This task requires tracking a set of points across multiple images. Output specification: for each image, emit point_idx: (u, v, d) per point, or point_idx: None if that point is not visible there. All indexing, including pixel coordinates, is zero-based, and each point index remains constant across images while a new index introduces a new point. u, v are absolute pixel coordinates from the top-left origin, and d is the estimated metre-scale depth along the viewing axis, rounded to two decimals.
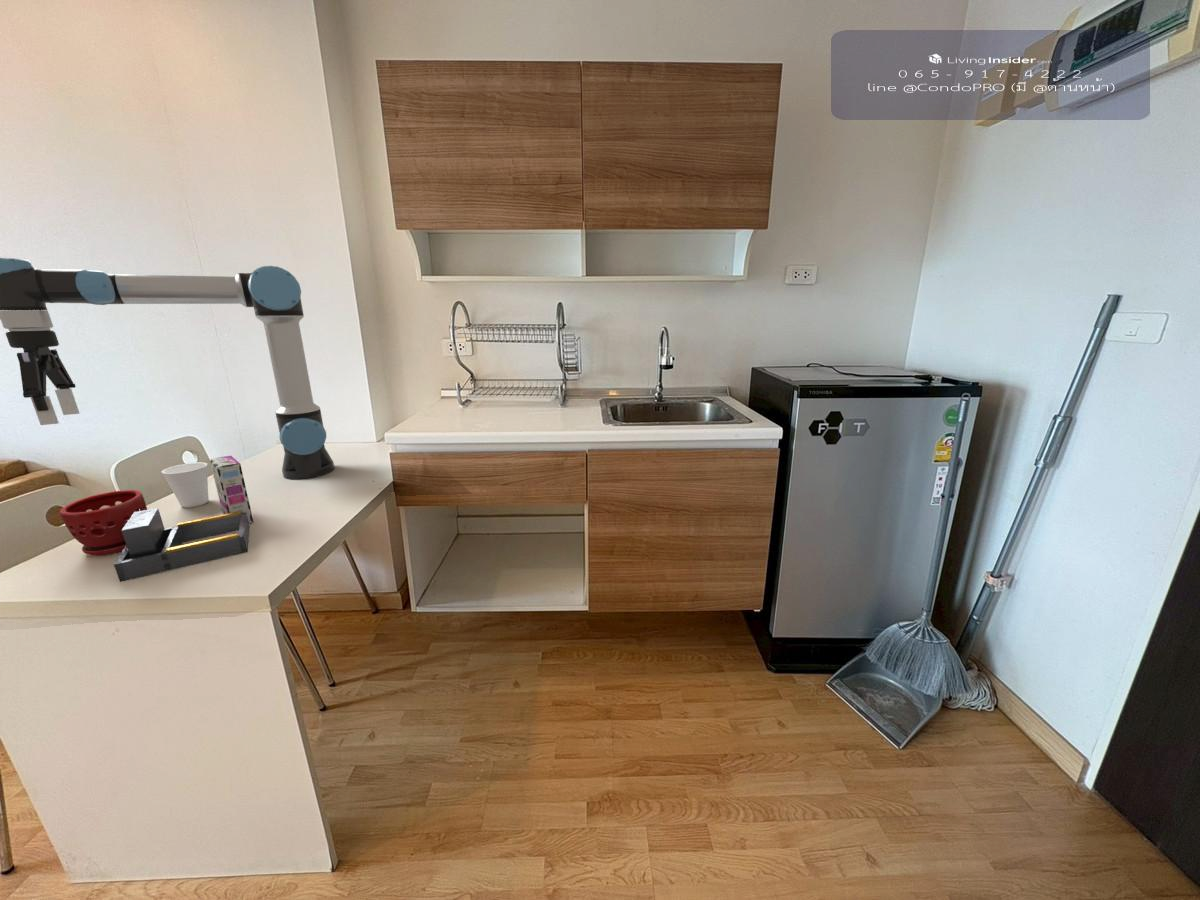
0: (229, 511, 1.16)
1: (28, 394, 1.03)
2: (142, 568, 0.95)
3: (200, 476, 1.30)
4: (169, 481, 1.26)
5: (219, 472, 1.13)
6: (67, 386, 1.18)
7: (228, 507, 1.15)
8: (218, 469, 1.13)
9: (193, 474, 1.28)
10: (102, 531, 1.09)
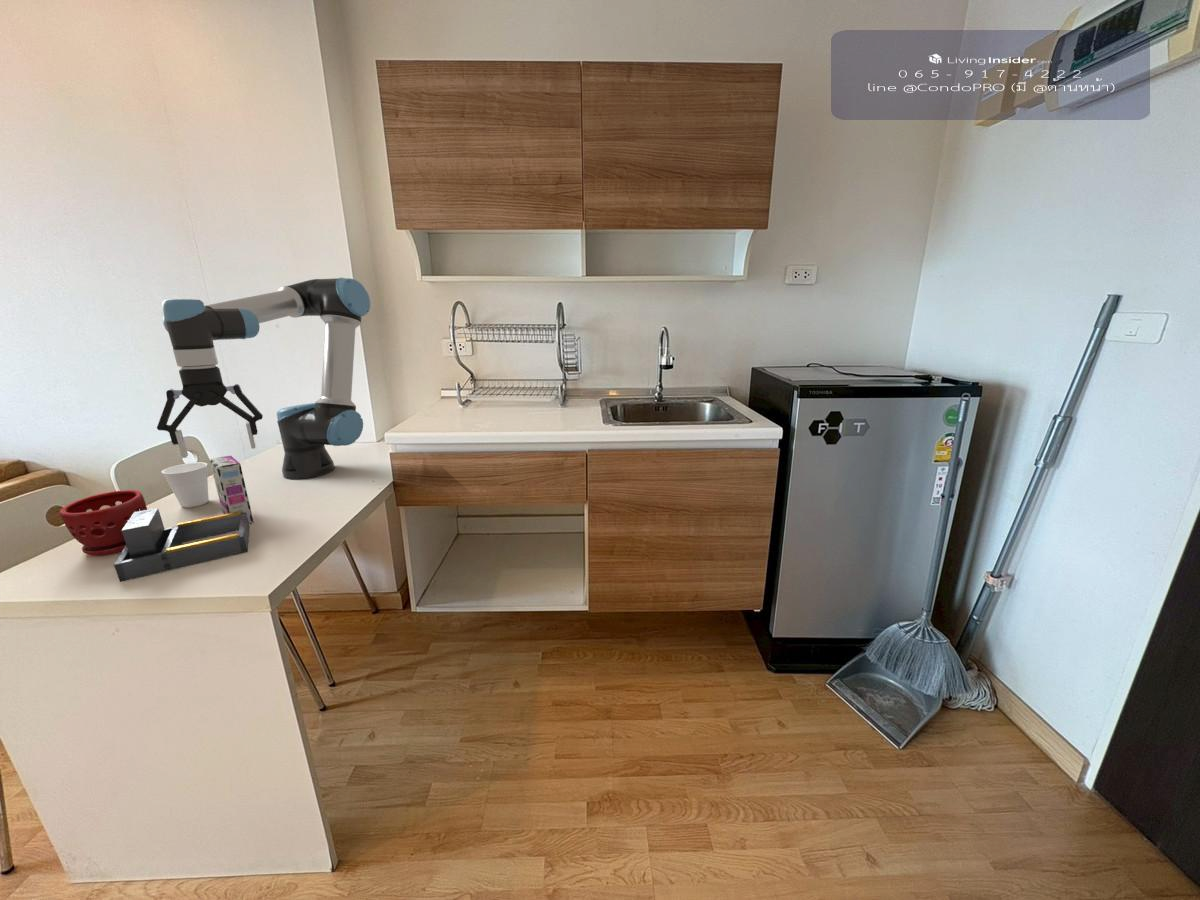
0: (229, 511, 1.16)
1: None
2: (142, 568, 0.95)
3: (200, 476, 1.30)
4: (169, 481, 1.26)
5: (219, 472, 1.13)
6: None
7: (228, 507, 1.15)
8: (218, 469, 1.13)
9: (193, 474, 1.28)
10: (102, 531, 1.09)
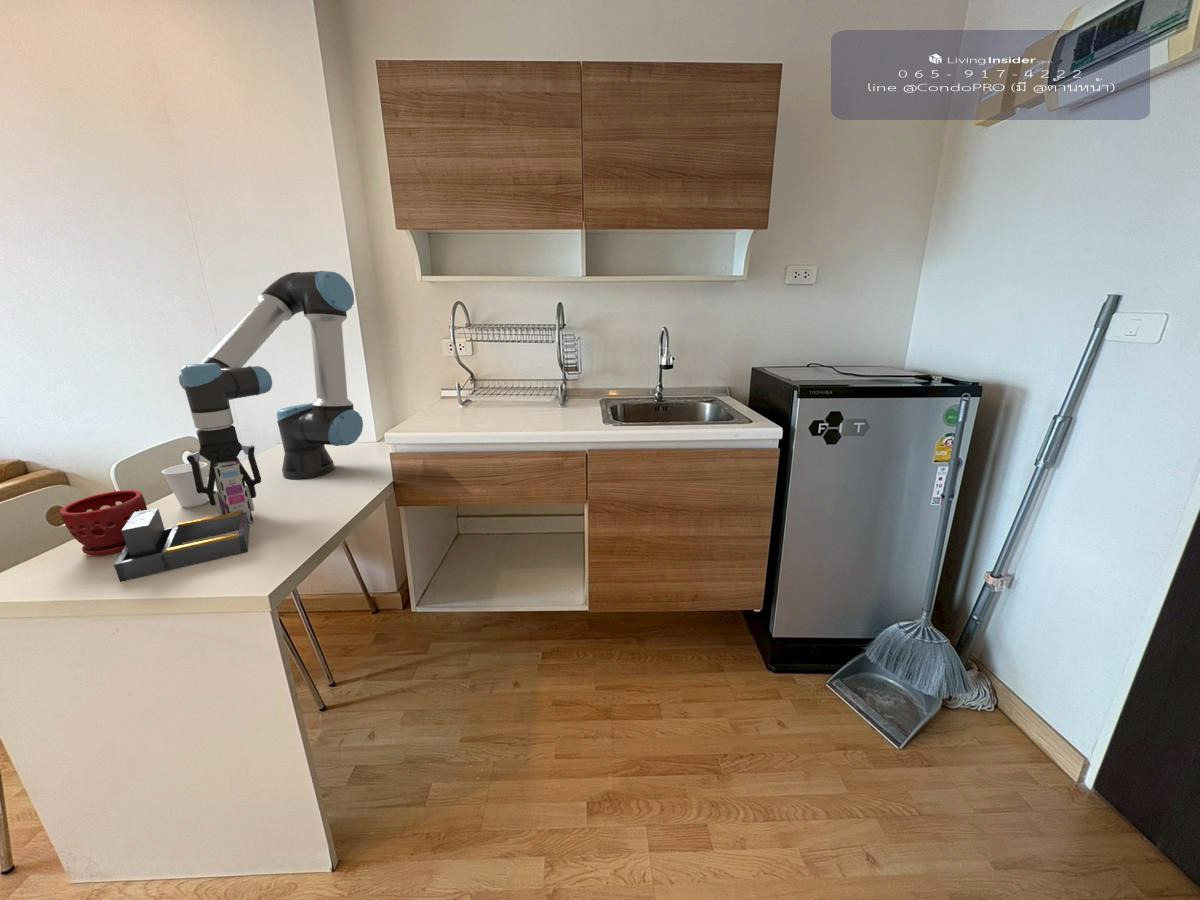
0: (229, 511, 1.16)
1: None
2: (142, 568, 0.95)
3: None
4: (169, 481, 1.26)
5: (219, 472, 1.13)
6: None
7: (228, 507, 1.15)
8: (218, 469, 1.13)
9: None
10: (102, 531, 1.09)
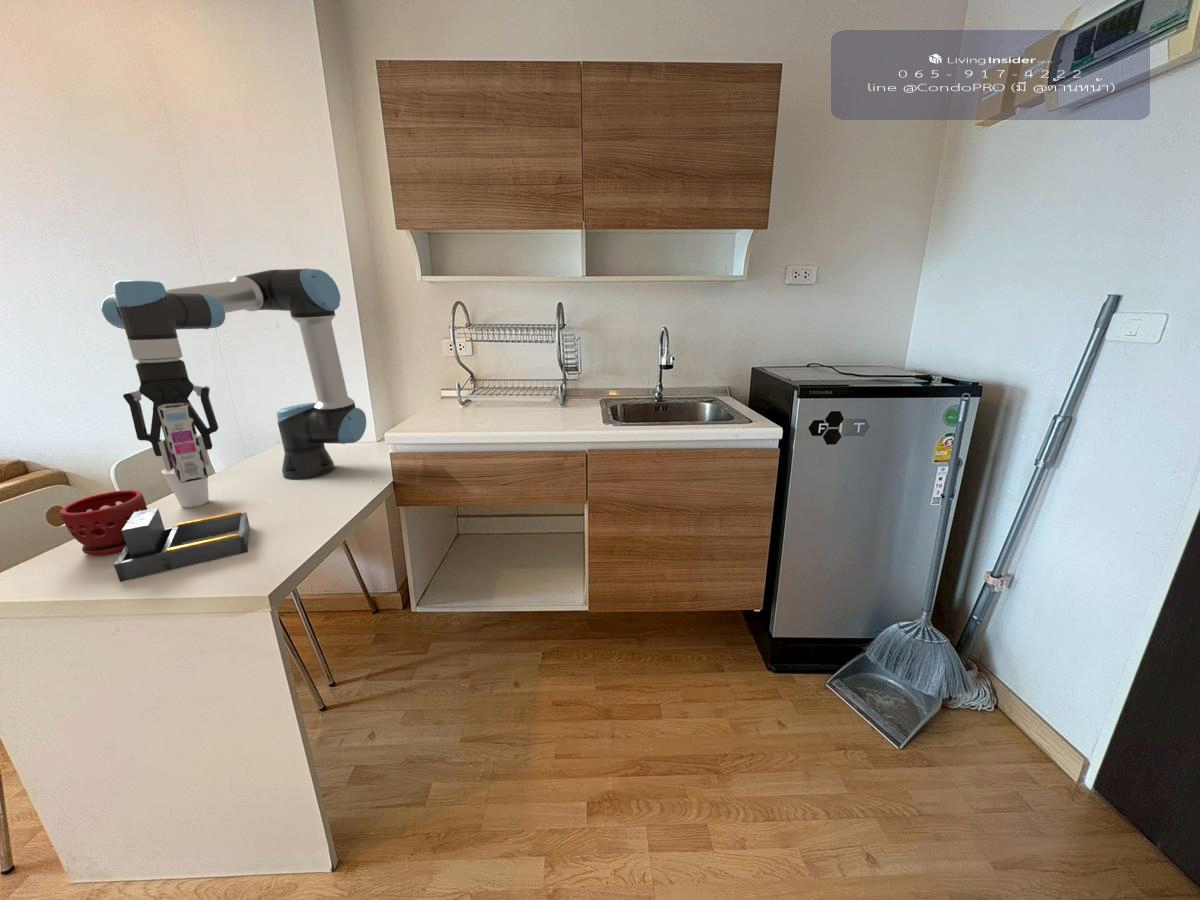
0: (176, 462, 0.96)
1: None
2: (142, 568, 0.95)
3: None
4: (169, 481, 1.26)
5: (162, 413, 0.93)
6: None
7: (175, 457, 0.96)
8: (161, 410, 0.93)
9: None
10: (102, 531, 1.09)
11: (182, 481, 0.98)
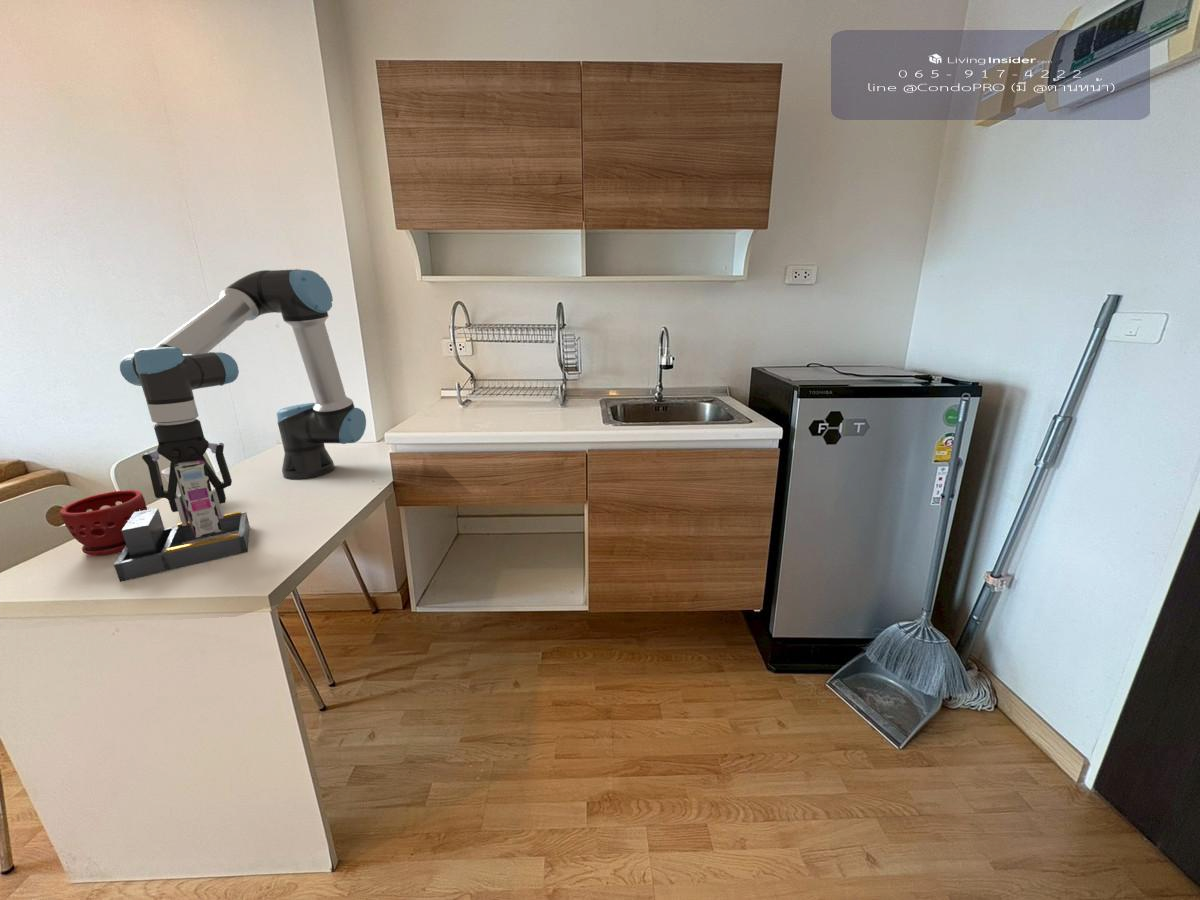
0: (192, 518, 1.00)
1: None
2: (142, 568, 0.95)
3: None
4: None
5: (179, 473, 0.97)
6: None
7: (191, 514, 1.00)
8: (178, 470, 0.97)
9: None
10: (102, 531, 1.09)
11: (198, 536, 1.01)
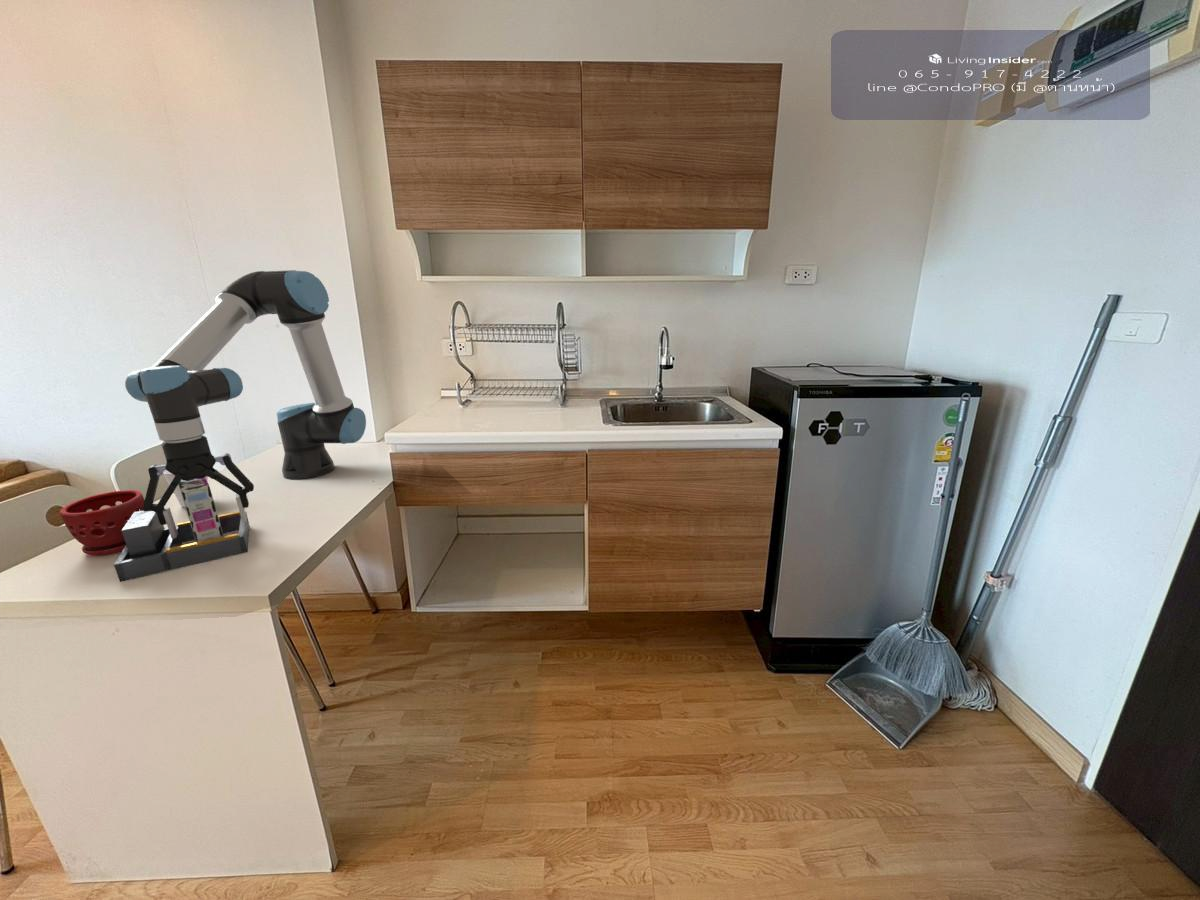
0: (197, 539, 1.01)
1: None
2: (142, 568, 0.95)
3: None
4: (169, 481, 1.26)
5: (184, 495, 0.98)
6: None
7: (196, 534, 1.01)
8: (182, 492, 0.98)
9: None
10: (102, 531, 1.09)
11: None
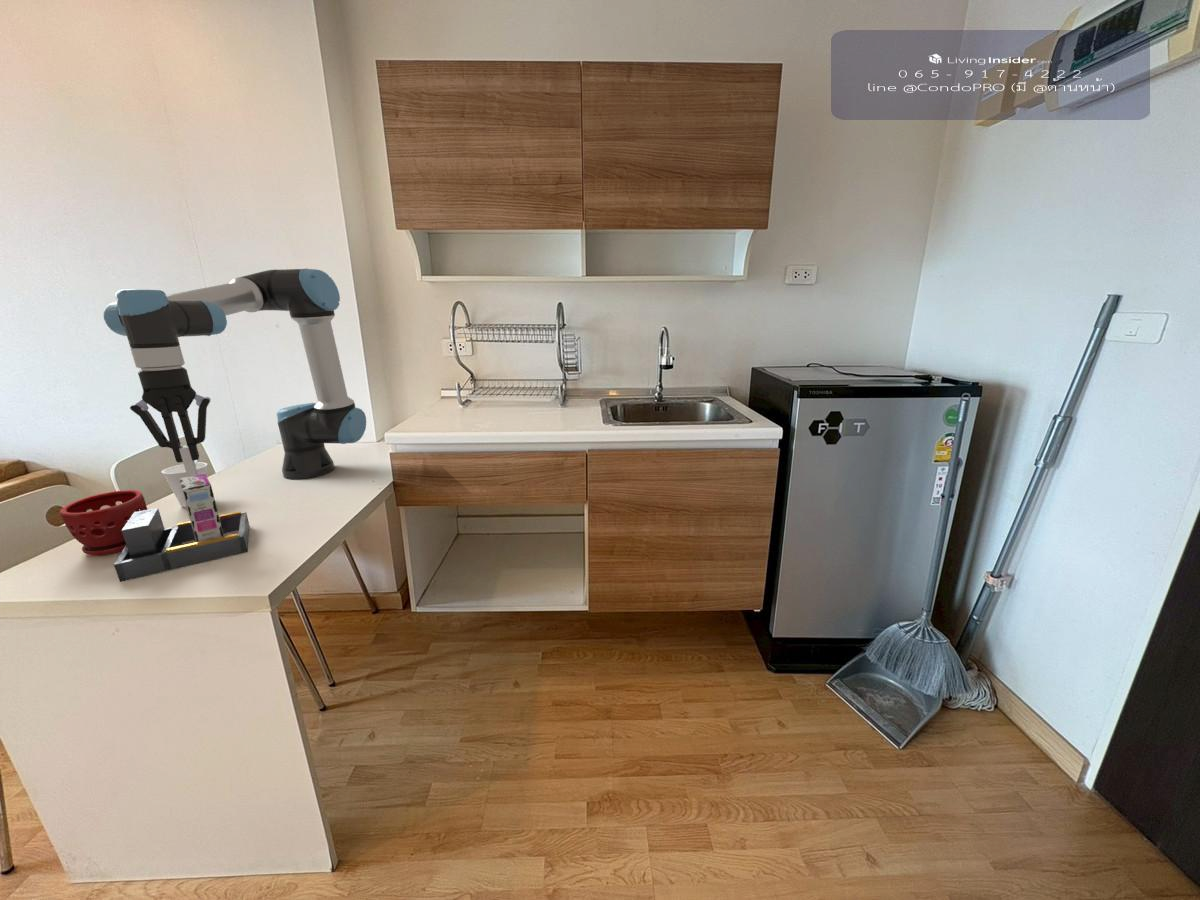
0: (198, 539, 1.01)
1: None
2: (142, 568, 0.95)
3: None
4: (169, 481, 1.26)
5: (186, 495, 0.99)
6: None
7: (197, 534, 1.01)
8: (184, 492, 0.98)
9: None
10: (102, 531, 1.09)
11: None
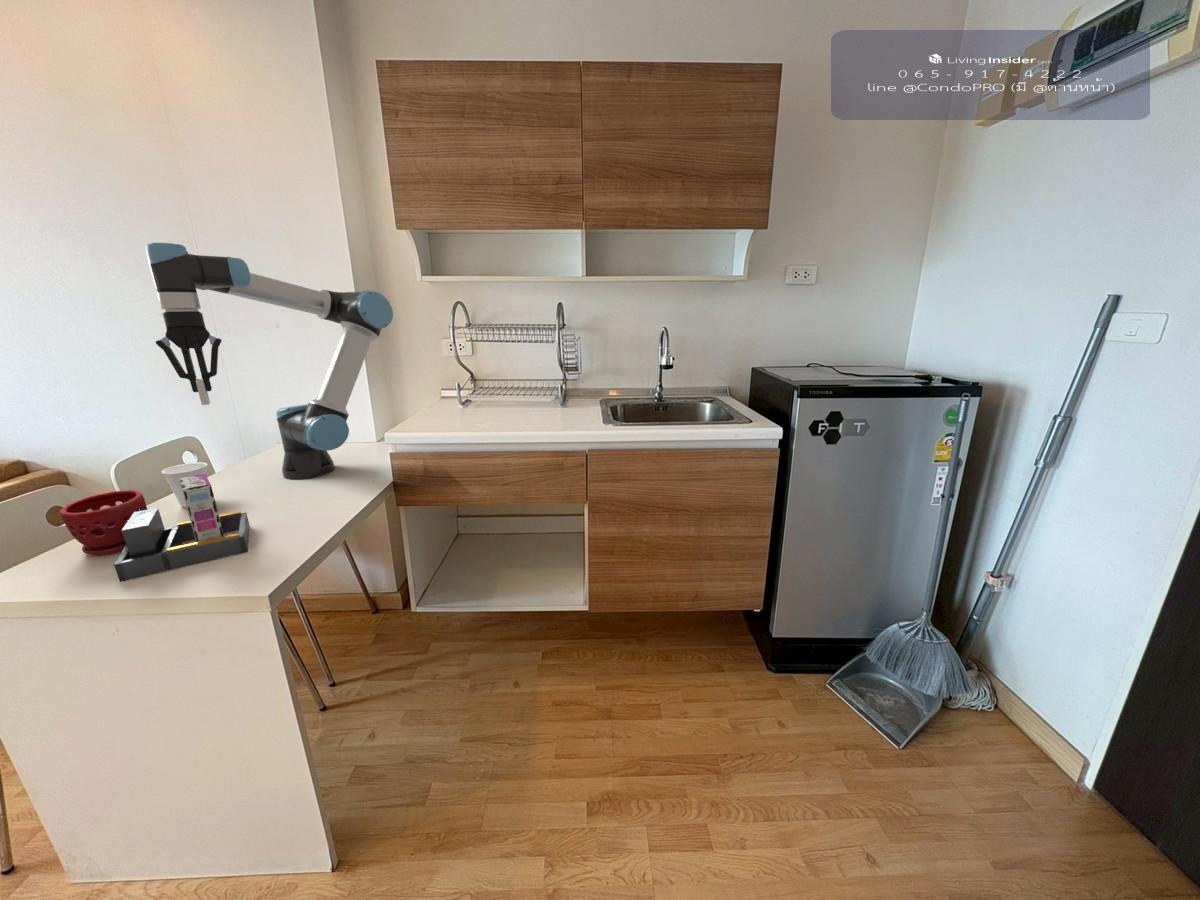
0: (198, 539, 1.01)
1: None
2: (142, 568, 0.95)
3: None
4: (169, 481, 1.26)
5: (186, 495, 0.99)
6: None
7: (197, 534, 1.01)
8: (184, 492, 0.98)
9: (193, 474, 1.28)
10: (102, 531, 1.09)
11: None
